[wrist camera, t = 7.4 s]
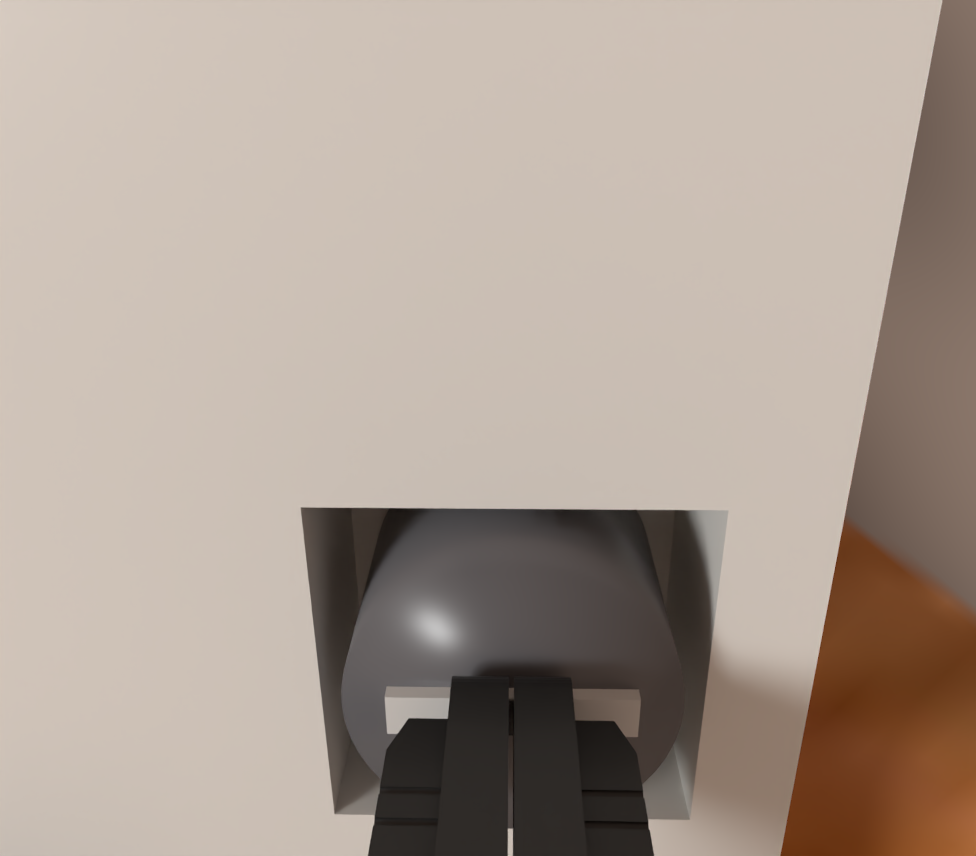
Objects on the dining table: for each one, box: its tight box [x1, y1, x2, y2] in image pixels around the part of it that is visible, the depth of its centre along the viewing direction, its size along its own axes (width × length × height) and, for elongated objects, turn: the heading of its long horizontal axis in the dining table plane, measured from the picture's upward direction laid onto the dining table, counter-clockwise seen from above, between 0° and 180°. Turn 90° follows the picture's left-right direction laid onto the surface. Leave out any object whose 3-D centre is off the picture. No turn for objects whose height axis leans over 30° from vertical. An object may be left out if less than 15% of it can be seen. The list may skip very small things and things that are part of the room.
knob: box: [341, 508, 685, 829], centre depth 13 cm, size 4×4×3 cm
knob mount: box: [0, 0, 942, 856], centre depth 14 cm, size 22×17×4 cm
